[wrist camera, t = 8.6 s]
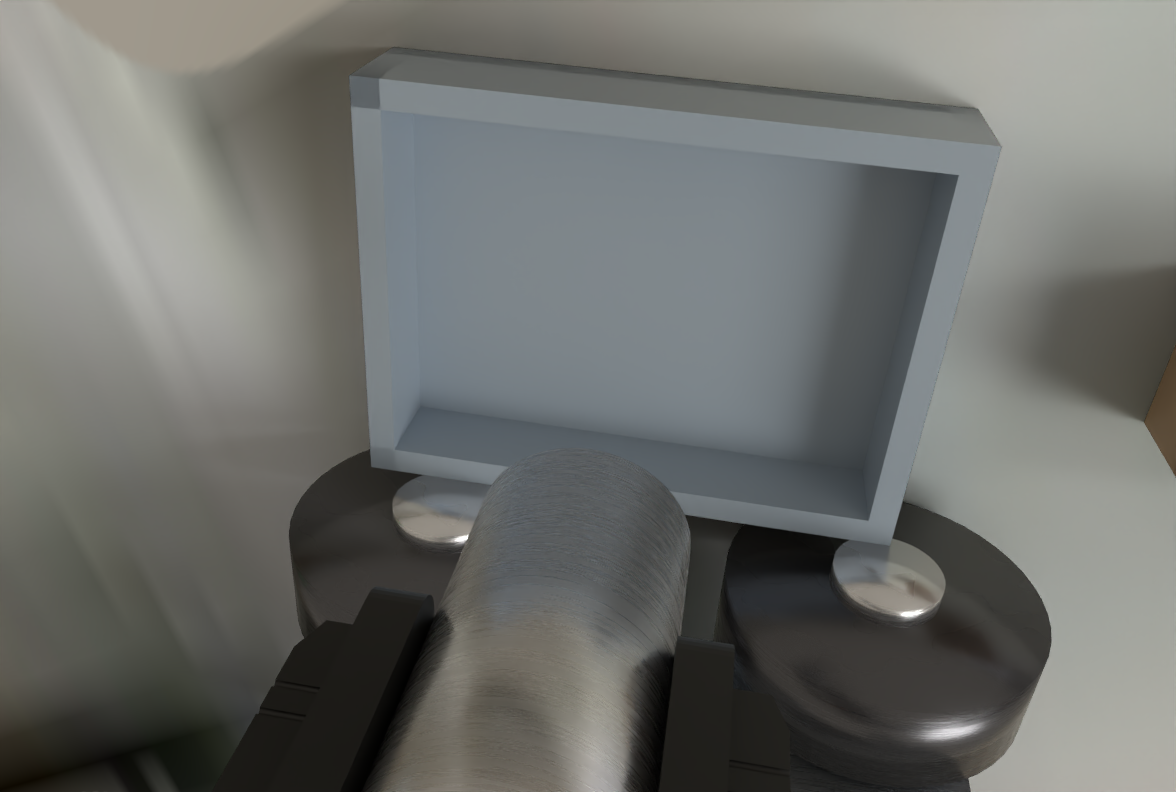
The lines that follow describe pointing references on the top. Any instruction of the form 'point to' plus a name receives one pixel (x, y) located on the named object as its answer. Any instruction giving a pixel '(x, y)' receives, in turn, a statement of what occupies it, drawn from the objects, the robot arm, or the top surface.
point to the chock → (1165, 414)
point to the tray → (661, 279)
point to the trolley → (761, 623)
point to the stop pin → (549, 638)
